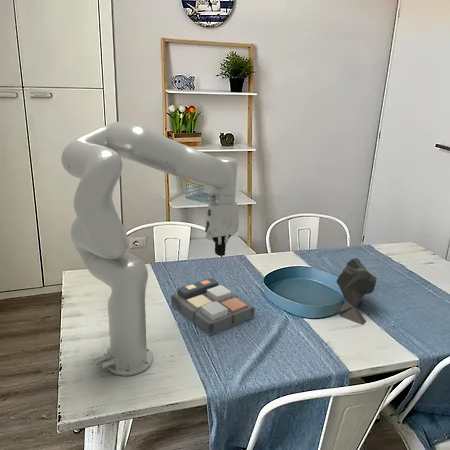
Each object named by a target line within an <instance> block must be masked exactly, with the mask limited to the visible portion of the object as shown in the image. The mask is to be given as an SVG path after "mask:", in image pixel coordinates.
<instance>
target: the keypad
mask: <svg viewBox="0 0 450 450" xmlns="http://www.w3.org/2000/svg"><path fill="white" fill-rule="evenodd" d="M219 285H220V284H219V281H217V280H215V279H214V278H212V277H209V278H206V279H205V278H204V279H202V280H200V281H196V282H193V283H190V284H186V285H184V286H180V287H178V288H177V290H176V291H177V293H174V294H171V296H170V297H171V298H170V299H171V300H170V302H171V303H170V306H171V307H172V308H173V309H175V310H176V311H177V312H178V313H180V314H181V315H182V316H184V317H185V318H186V319H187V320H189V321H190V322H191V323H193V324H194V325H195V326H197V328H199V329H200V330H201V331H202V332H204V334H206V335H208V337H211V336H213V335H215V334H218V333H220V332H223V331H226V330H227V329H230V328H232V327H235V326H238V325H240V324H242V323H245V322H247V321H249V320H250V321H251V320H252V319H254V317H255V306H253V305H252V304H251V303H249V302H247V301H245V300H244V299H243V298H241V297H239V296H238V295H236V294H235V293H233V292H232V297H231V298H230V299H233V298H237V299H239V300H240V301H242V302H243V303H245V304H246V305H247V308H245V309H243V310H240V311H238V312H235V313H233V314H232V313H231V312H230V311H228V315H227V316H225V317H222V318H220V319H217V320H215V321H211V320H209V319H208V318H207V317H205V316H204V315H203V314H201V309H199V310H196V309H195V308H193V307H192V306H191V305H189V304H188V303H187V299H190V298H193V297H196V296H199V295H203V296H205V297H206V298H208V299H209V300H210V301H212V302H215V301H213V300H212V299H210V298H209V297H208V296H207V289H210V288H213V287H216V286H219ZM230 299H227V300H230ZM227 300H224V301H227ZM224 301H221V302H219V303H220V304H221V303H222V302H224Z"/></svg>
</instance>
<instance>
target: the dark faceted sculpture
mask: <svg viewBox="0 0 450 450" xmlns="http://www.w3.org/2000/svg"><path fill="white" fill-rule="evenodd" d="M377 280H378V278H377V277H376V276H375V275H373V274H372V273H371V272H369V271H368V269H367V268H366V266H365V265H364V264H363V263H362V262H361V260H360V259H359V258H356V257H354V258H352V259H351V260H349V261H347V263H346V266H344V268H343V270H342V272H341V273H340V274H339V275H338V277H337V279H336V283H337V285H338V288H339V289H340V292H341V293H342V296H343V300H345V299H347V302H346V303H345V304H344V305H343V304H342V305H343V306H341V308H340V310H339V317H341V318H344V319H347V320H349V321H352V322H354V323H357V324H359V325H362V326H363V325H365V324H366V323H367V320H366V318H365V317H364V316H363V314H362V313H361V312H360V310H359V308H358V306H359V304H360V302H361V301H362V299H363V297H364V296H365V295H369V294H371V293H373V292H374V290H375V287H376V283H377Z"/></svg>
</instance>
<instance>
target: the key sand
mask: <svg viewBox="0 0 450 450" xmlns="http://www.w3.org/2000/svg"><path fill="white" fill-rule="evenodd" d="M187 303H188V304H189V305H191V306H192V307H193V308H195V309H196V310H199V309H201V306H204V305H207V304H209V303H212V301H210V300H209V299H208V298H206V297H205V296H203V295H199V296H196V297H193V298H190V299H187Z"/></svg>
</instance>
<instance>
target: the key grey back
mask: <svg viewBox="0 0 450 450" xmlns="http://www.w3.org/2000/svg"><path fill="white" fill-rule="evenodd" d="M232 293H233V292H232V291H231V290H229V288H226V287H225V286H223V285H221V284H219V286H216V287H213V288H210V289H207V296H208V297H209V298H210V299H212V300H213V301H217V302H218V303H219V302H221V301H224V300H227V299H230V298H231V297H232Z"/></svg>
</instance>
